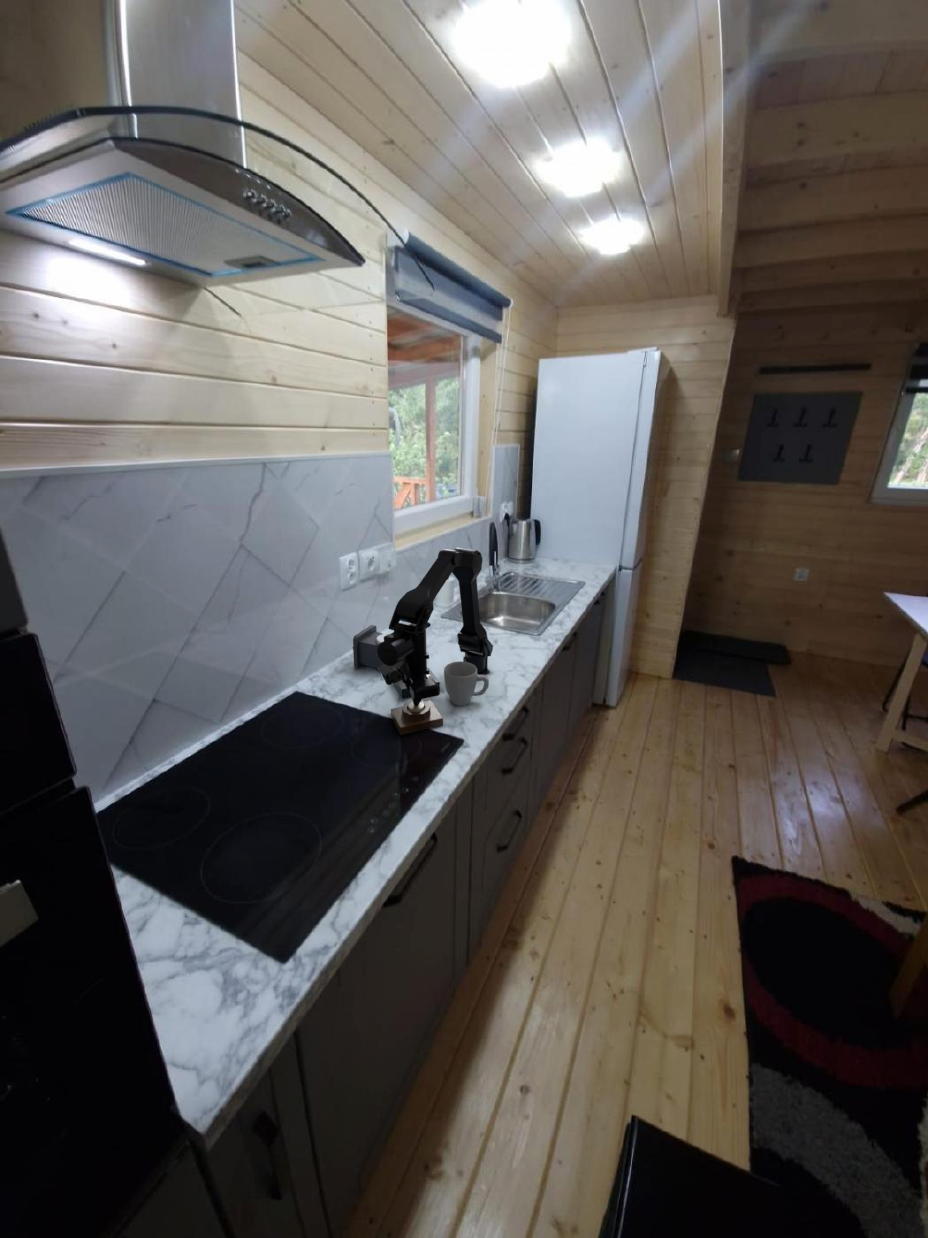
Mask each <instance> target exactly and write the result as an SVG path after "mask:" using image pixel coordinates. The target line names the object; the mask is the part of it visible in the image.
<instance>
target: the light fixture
mask: <svg viewBox="0 0 928 1238" xmlns="http://www.w3.org/2000/svg"><path fill="white" fill-rule="evenodd" d="M377 629H378V628H377V626H376V625H374V624H370V625H369V626H368V627H366V628H365V629H363V630H361V631H360V632H358V633H356V634H355V635H354V636H353V638H352V651H353V653H352V654H353V668H355V669H361V668H362V667H363V666H371V667H375V668H376V669H377V670H379V667H380V666H381V665H383V664H384V663H383V662H382V661H381V660H380V658H379V657H378V653H377V649H378V646H379V644H380V643H381V642H383V641H384V636H386V635H389V634H390V633H383V632H380V631H377Z"/></svg>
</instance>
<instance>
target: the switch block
mask: <svg viewBox="0 0 928 1238" xmlns="http://www.w3.org/2000/svg"><path fill="white" fill-rule="evenodd" d="M411 702H413V701H412V700H408V701H407V702H405V703H404V704H403V705H402V706H397V707H393V708H390V717H391V720H392V721H393V723H394V725H395V727H396V728H397V731H398V733H399V735H400V736H403V735H407V734H411V733H416V732H421V731H425V730H429V729H434V728H438V727H443V726H444V717H443V716H442V714H441V712H440V711H439V710H438V708H437V707H436V706H435V704H434V702H433V701H432V700H426V701H425V700H424V699H422V700H421V702H422V703H423V704H424V710H423V711H421V712H411V711H409V710H408V705H409V703H411Z"/></svg>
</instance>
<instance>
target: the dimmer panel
mask: <svg viewBox="0 0 928 1238" xmlns="http://www.w3.org/2000/svg"><path fill="white" fill-rule="evenodd" d="M427 668H428V667H427ZM428 669H429V674H426V675H427V676H428V678H432V679H433V680H434V681H435V682H436V683H437V684H438V686H439V687H441V686H440V685H441V682H440V681H439V679H438V677H436V674H434V672H433V671H432V670H431V668H428ZM393 686H394V687H395V689H396V691H397V693H398V694H399V696H400V698H401V699H402V700H404V699H408V698H412V697H411V694H410V691H409V690H408V689H407V688H406V686H405V683H403V681H402V680H400V681H399V682H397V683H395V684H393Z"/></svg>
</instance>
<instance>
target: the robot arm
mask: <svg viewBox="0 0 928 1238" xmlns="http://www.w3.org/2000/svg"><path fill="white" fill-rule="evenodd" d="M482 569H483V556H482V553H481V551H479V550H478V549H477V550H476V549H470V548H464V547H455V548H454V549H447V548H443V549H440V550H439V552H438V554H437V558H436V559H435V561H434V562H433V564H432V565H431V567H430V568H429V569H428V570H427V572H426V573H425V575H424V576H423V578H422V579H421V581H420V582H419V583H418V585H417V586H416V587H415V588H412V589H411V590H409V591H407V592H406V593H404V595H402V597H400V599H399V600H398V601H397V603H396V605H395V608H394V611H393V614H392V617H391V619H390V622H389V625H388V630H391V631H393V632H391V633H388V634H389V635H386V636H384V641H383V642H381V643H380V644H379V646H378V649H377V653H378V657H379V658H380V660H381V661H382V662H383V663H384V664H383V665H381V666H380V667H379V669H378V670H379V673H380V674H381V676H382V678H383V680H384V682H385V684H386V686H390V685H394V684H395V683H397V682H399V681H400V680H402V681H403V683H405V686H406V688H407V689H408V690H409V691H410V694H411V697H410V698H411V701H413V704H414V706H418V705H419V704H420V702H421V700H424V699H430V698H435V697H438V696H439V695H440V693H441V692H440V690H441V689H440V687H441V686H440V687H439V686H438V684H437V683H436V682H435V681H434V680H433V679H432V678H428V676H427V675H426V674H429V669H430V668H429V669H428V660H429V659H430V654H429V653H428V652H427V629H429V628H430V627H431V625H432V624H431V622H429V620H430V618H431V616H432V614H433V612H434V609H435V607H434V601H435V599H436V597H437V596H438V594H439V593H440V591H441V590H442V588H443V587H444V585H445V584H446V582H447V580H448V579H449V577H450V576H451V574H453V576H454V577H455V579H456V580H457V582H458V588H459V589H458V590H459V598H460V607H461V618H462V627H461V629H460V630H459V631H458V633H457V634H456V636H457V645H458V648H459V651H460V652H461V653H464V656H463V658H462V662H468V663H471V664H473V665H475V666H476V668H477V674H478V675H487V674H490V672H491V671H490V670H489V669H488V662H489V661H488V659H489V657H491V656H492V653H493V649H494V644H492V642H491V641H490V640H489V637H488V633H487V629H486V628H485V627H484V626H483V624H482V623H481V616H480V604H479V603H480V602H479V593H478V592H479V591H478V581H477V580H478V576H479V574H480V573H481V571H482ZM400 621H401V622H400ZM402 622H405V623H402ZM406 623H408V624H406Z"/></svg>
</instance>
